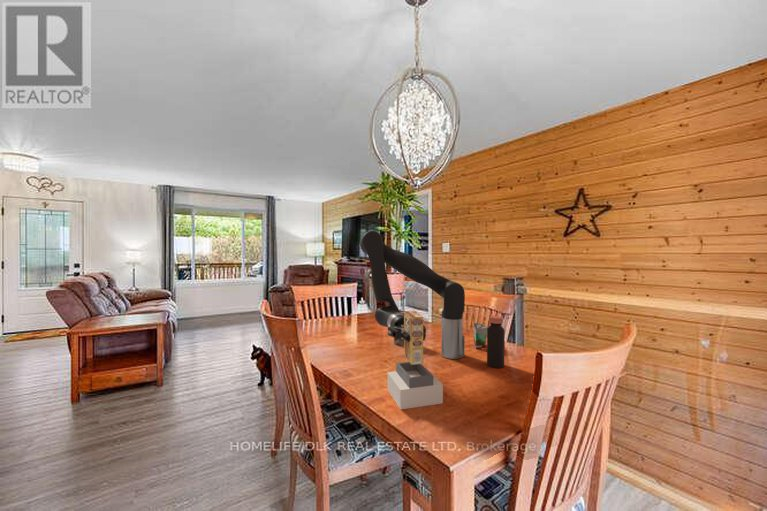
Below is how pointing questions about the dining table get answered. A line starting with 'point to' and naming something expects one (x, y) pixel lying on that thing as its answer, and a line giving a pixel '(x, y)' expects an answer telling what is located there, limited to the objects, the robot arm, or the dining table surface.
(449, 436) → the dining table surface
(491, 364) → the bottle
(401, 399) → the stand
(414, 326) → the candy box
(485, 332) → the food container
